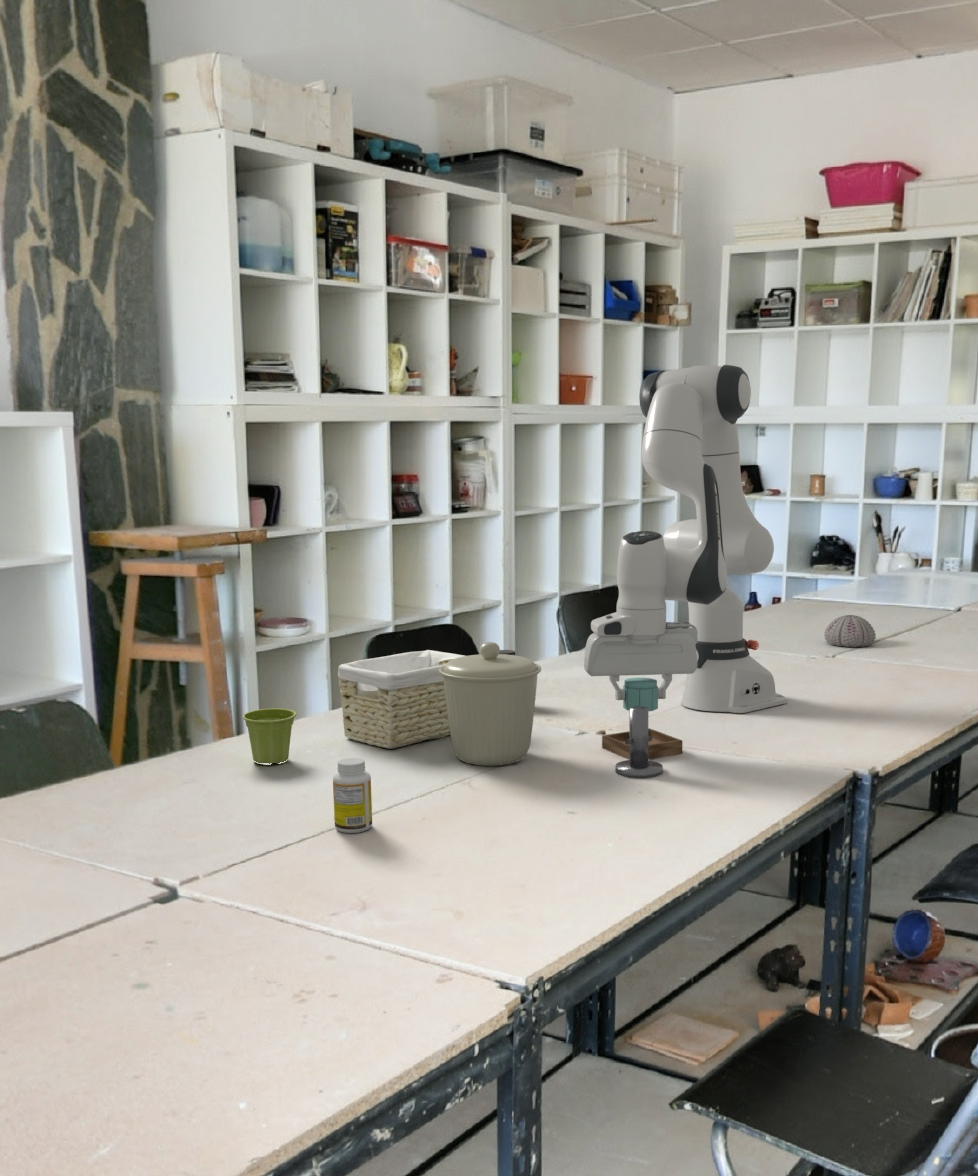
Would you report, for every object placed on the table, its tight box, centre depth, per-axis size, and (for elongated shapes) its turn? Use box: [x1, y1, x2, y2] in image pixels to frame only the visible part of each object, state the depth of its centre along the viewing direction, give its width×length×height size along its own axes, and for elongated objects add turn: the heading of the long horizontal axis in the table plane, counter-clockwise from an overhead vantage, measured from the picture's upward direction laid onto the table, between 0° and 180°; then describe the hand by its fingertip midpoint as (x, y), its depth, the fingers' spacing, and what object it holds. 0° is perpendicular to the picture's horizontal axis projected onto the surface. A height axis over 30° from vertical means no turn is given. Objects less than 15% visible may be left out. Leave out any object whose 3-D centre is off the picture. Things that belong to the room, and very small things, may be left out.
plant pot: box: [242, 708, 297, 764], centre depth 214 cm, size 9×9×9 cm
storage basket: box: [337, 649, 465, 749], centre depth 231 cm, size 24×16×15 cm
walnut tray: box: [601, 727, 683, 760], centre depth 217 cm, size 10×10×2 cm
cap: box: [622, 677, 659, 712], centre depth 216 cm, size 6×6×5 cm
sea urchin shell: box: [823, 614, 877, 648], centre depth 321 cm, size 13×14×8 cm
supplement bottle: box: [332, 757, 373, 834], centre depth 176 cm, size 6×6×10 cm
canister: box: [439, 641, 542, 767], centre depth 212 cm, size 18×18×21 cm
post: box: [614, 706, 664, 779], centre depth 203 cm, size 8×8×11 cm
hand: (640, 698), depth 216 cm, fingers closed on cap, 6 cm apart
